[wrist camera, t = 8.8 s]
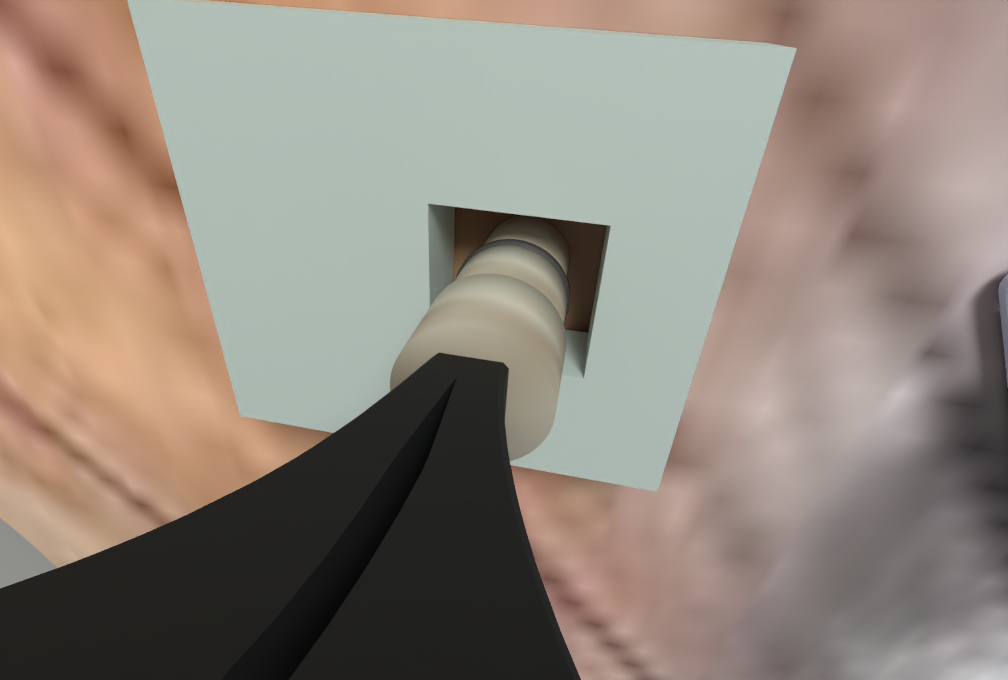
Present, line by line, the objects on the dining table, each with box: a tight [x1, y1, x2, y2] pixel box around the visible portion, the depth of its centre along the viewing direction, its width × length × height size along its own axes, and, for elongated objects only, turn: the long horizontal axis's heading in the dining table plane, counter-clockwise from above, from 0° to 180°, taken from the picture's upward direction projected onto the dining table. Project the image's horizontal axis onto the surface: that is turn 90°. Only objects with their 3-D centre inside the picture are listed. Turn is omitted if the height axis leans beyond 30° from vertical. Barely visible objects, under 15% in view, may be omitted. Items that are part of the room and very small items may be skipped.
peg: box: [390, 216, 570, 461], centre depth 13 cm, size 3×3×7 cm
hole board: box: [127, 0, 797, 492], centre depth 15 cm, size 14×12×2 cm
